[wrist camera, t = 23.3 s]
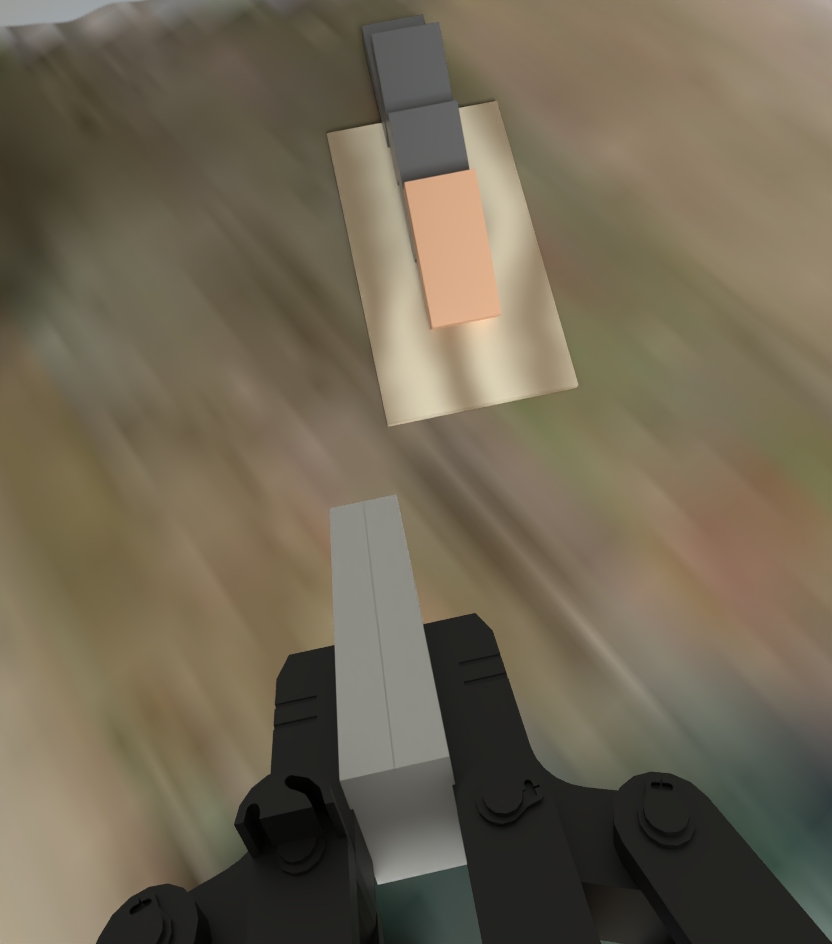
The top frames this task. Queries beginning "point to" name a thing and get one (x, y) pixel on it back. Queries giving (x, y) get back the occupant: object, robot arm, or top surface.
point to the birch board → (401, 295)
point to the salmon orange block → (452, 249)
